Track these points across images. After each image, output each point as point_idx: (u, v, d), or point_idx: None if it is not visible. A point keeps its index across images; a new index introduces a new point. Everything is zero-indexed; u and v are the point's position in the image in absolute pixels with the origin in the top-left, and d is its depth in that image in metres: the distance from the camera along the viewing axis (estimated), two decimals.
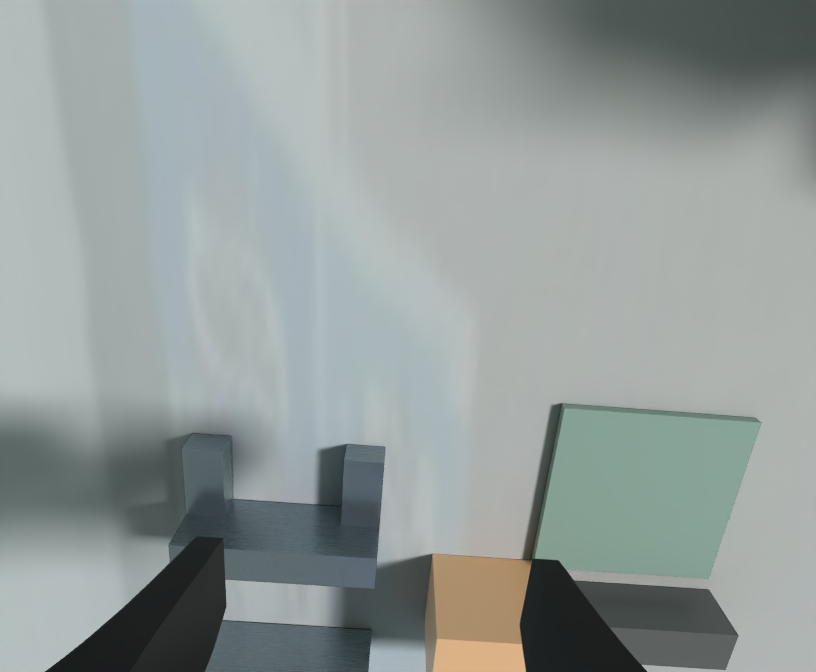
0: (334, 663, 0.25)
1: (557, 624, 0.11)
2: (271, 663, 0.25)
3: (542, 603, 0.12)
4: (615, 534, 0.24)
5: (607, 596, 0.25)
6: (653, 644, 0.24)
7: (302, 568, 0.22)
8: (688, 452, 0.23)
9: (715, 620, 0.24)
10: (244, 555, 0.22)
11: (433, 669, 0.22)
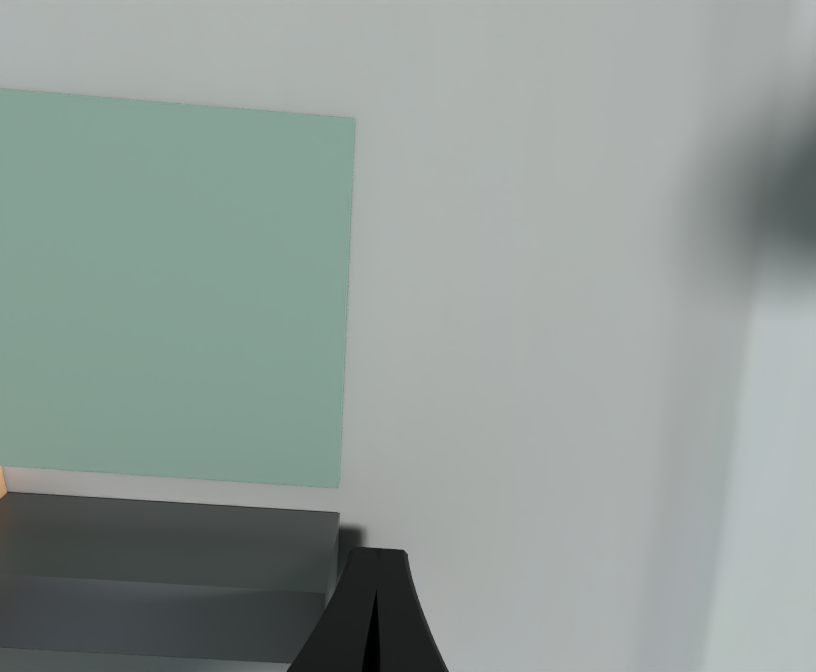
0: None
1: (376, 613, 0.11)
2: None
3: None
4: (123, 392, 0.12)
5: (114, 522, 0.13)
6: (156, 614, 0.12)
7: None
8: (213, 196, 0.11)
9: (301, 564, 0.12)
10: None
11: None
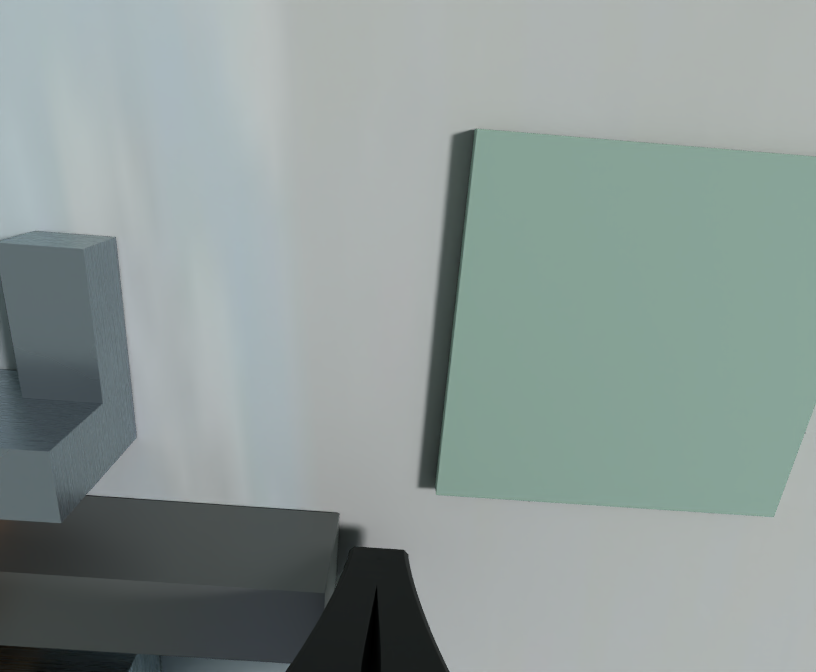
0: None
1: (377, 613, 0.11)
2: None
3: None
4: (593, 425, 0.12)
5: (114, 521, 0.13)
6: (155, 613, 0.12)
7: None
8: (743, 238, 0.11)
9: (300, 564, 0.12)
10: None
11: None
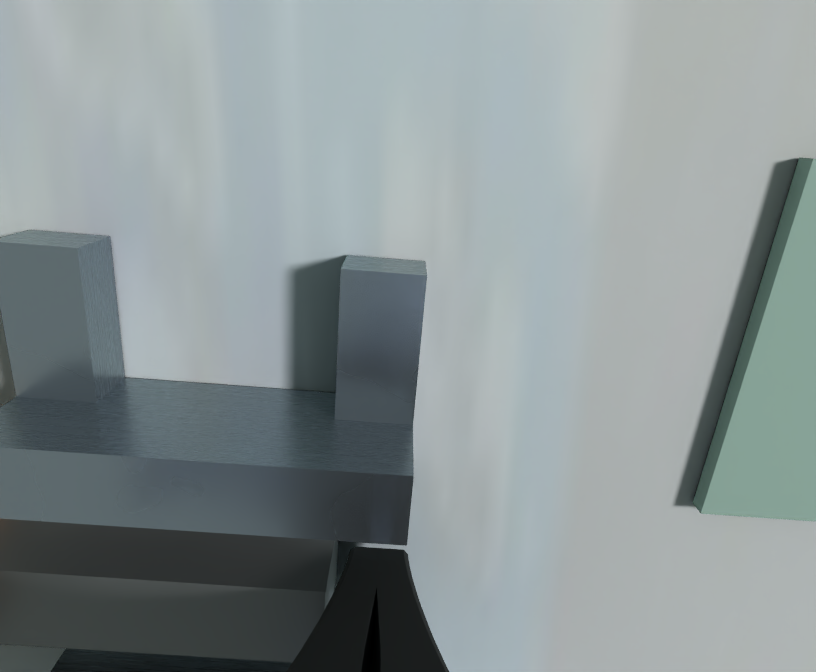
0: None
1: (376, 613, 0.11)
2: None
3: None
4: None
5: None
6: (156, 612, 0.12)
7: (249, 498, 0.10)
8: None
9: (301, 563, 0.12)
10: (120, 468, 0.10)
11: None
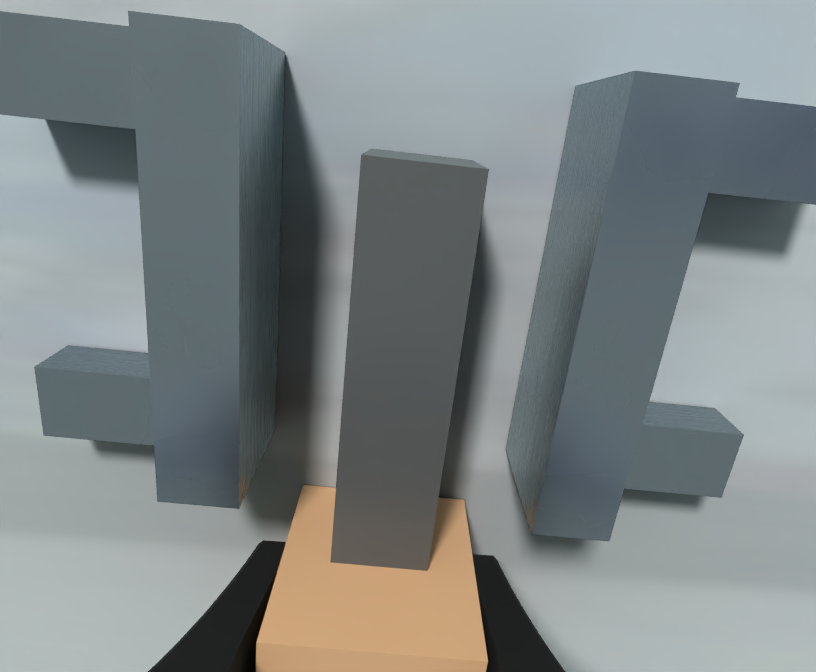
0: (587, 177, 0.09)
1: None
2: (557, 335, 0.10)
3: None
4: None
5: None
6: (392, 363, 0.10)
7: (187, 227, 0.09)
8: None
9: None
10: (167, 359, 0.09)
11: None
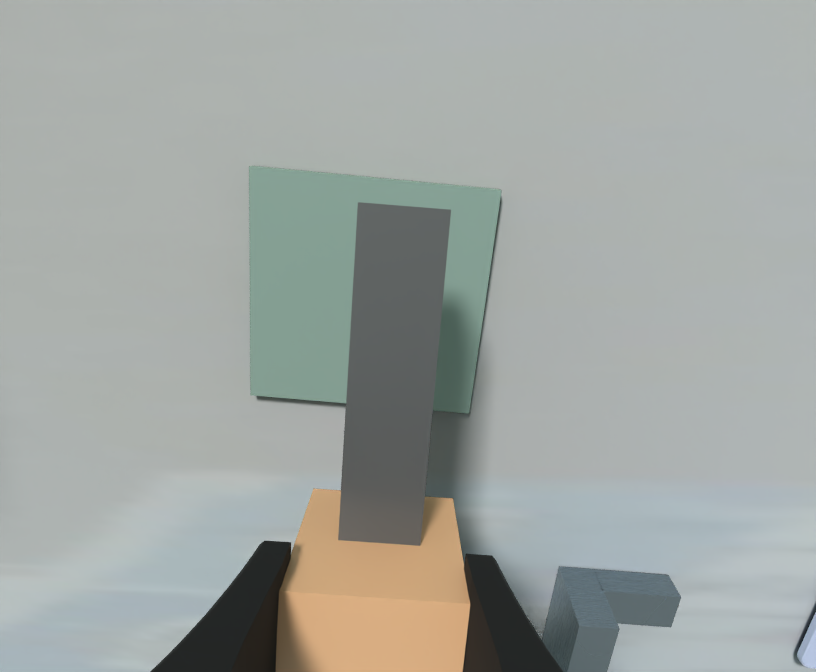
0: (563, 632, 0.22)
1: (480, 619, 0.11)
2: None
3: (470, 598, 0.12)
4: None
5: None
6: (385, 361, 0.13)
7: None
8: (297, 252, 0.19)
9: None
10: None
11: None
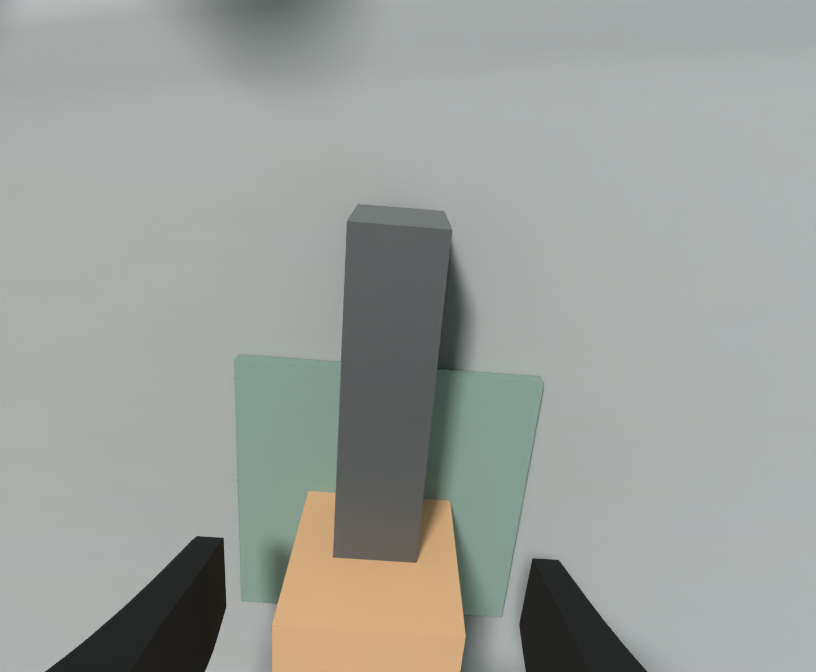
0: None
1: (557, 624, 0.11)
2: None
3: (542, 603, 0.12)
4: None
5: None
6: (379, 388, 0.12)
7: None
8: (295, 451, 0.15)
9: None
10: None
11: None
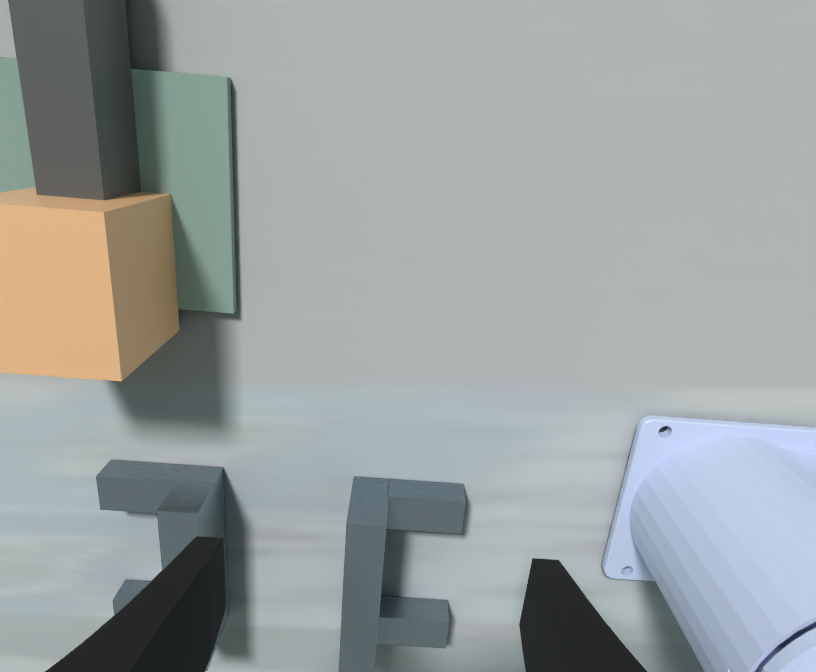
0: None
1: (557, 624, 0.11)
2: None
3: (542, 603, 0.12)
4: None
5: None
6: (42, 27, 0.15)
7: None
8: None
9: None
10: None
11: (42, 374, 0.17)
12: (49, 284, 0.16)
